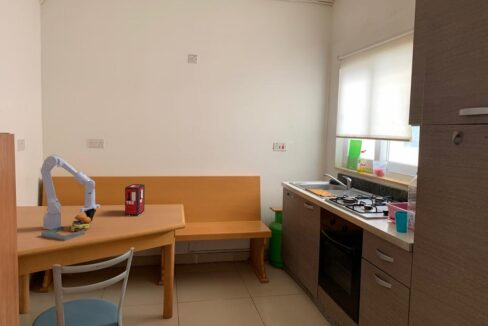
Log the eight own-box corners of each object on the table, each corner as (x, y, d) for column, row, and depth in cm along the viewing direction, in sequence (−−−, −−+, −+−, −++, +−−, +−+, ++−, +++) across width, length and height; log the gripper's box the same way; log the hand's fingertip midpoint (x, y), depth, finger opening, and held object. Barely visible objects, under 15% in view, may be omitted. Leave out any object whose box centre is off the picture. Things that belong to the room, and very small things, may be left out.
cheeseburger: (66, 230, 222) (69, 213, 223) (82, 230, 231) (85, 214, 232) (76, 232, 216) (79, 215, 218) (92, 233, 225) (95, 216, 227)
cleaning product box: (132, 210, 278) (132, 183, 276) (144, 211, 278) (144, 184, 276) (124, 215, 261) (125, 187, 259) (137, 216, 261) (137, 188, 259)
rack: (41, 236, 208) (41, 231, 208) (62, 230, 222) (62, 225, 222) (64, 240, 202) (64, 235, 202) (84, 233, 216) (84, 228, 216)
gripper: (86, 202, 222) (86, 224, 223) (103, 198, 236) (103, 219, 237) (77, 201, 224) (77, 223, 226) (94, 197, 238) (94, 218, 239)
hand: (90, 221), depth 231 cm, fingers closed
